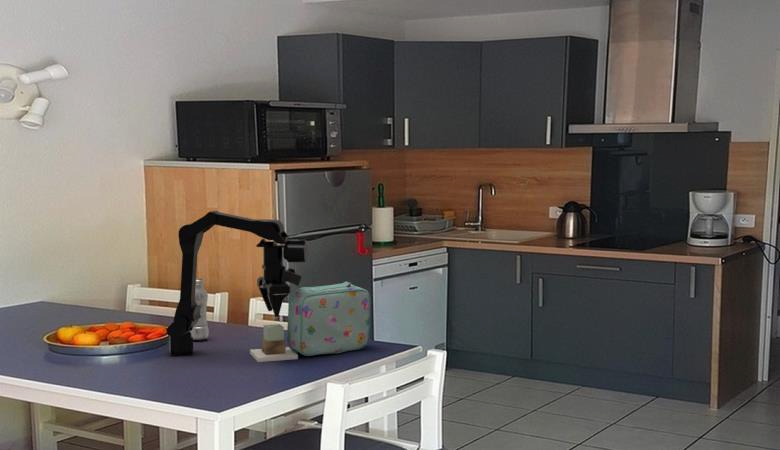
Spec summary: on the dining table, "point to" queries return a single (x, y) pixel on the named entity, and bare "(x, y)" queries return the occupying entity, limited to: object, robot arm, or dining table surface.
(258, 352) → the base board
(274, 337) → the sage block
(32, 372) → the dining table surface
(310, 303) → the lunch box
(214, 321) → the dining table surface
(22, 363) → the dining table surface
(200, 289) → the plastic bottle
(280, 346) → the walnut block
